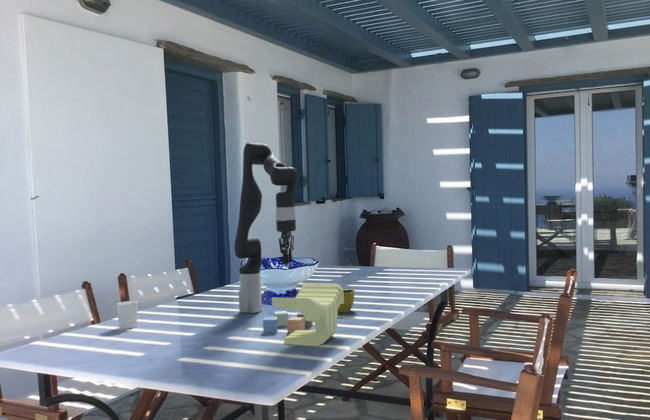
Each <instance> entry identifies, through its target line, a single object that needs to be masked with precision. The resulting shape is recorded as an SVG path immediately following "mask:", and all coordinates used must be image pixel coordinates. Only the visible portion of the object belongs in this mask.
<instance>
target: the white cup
mask: <svg viewBox="0 0 650 420" xmlns="http://www.w3.org/2000/svg"><path fill="white" fill-rule="evenodd" d="M116 308H117V309H116V311H117V319H118V323H119V325H118V327H119V329H120V330H121V329H122V330H129V329H134V328H136V327H138V325H137V324H138V323H137V322H138V301H137V300H129V301H128V300H126V301H120V302H118V303H116Z"/></svg>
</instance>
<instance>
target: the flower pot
mask: <svg viewBox="0 0 650 420" xmlns="http://www.w3.org/2000/svg"><path fill="white" fill-rule="evenodd" d="M342 289H343V293H344V304H343V303H342V304H340V306H339V308H338V309H337V312H338V314H339V313H341V314H342V313H344V314H346V313H350V312H351V310H352V309H353V305H354V302H355V289H344V288H342Z"/></svg>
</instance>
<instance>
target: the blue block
mask: <svg viewBox="0 0 650 420" xmlns="http://www.w3.org/2000/svg"><path fill="white" fill-rule="evenodd" d="M262 326H263V327H262V331H263V334H273V333H274V334H276V333H278V331H279V326H278V317H274V316H264V317H263V319H262Z"/></svg>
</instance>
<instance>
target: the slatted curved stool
mask: <svg viewBox="0 0 650 420" xmlns="http://www.w3.org/2000/svg"><path fill="white" fill-rule="evenodd" d="M343 289H344V288H342V286H340V284H338V283H335V282H333V283H332V282H331V283H330V282H328V283H327V282H325V283H324V282H320V283H319V282H303V283H302V284H301V287H300V289H299V291H298V293H297V294H296V296H295V297H271V304H272V305H271V306H272V307H277V308H279V309H282V310H293V311H298V312H301V313H302V314H303V315H304V318H305V321H313V324H314V325H315V329H310V330H309V329H308V330H307V329H305V330H296V331H294V332H293V333H288V335H286V336H285V337H284V340H283V344H285V345H299V344H300V345H301V346H302V345H303V346H304V345H305V346H321V345H323V344H325V342H326V341H328V340H329V339H330V338H332V337H333V336H334V335H335V334H336V333H337V330H338V314H339V313H338V312H337V309H338V308H339V306H340V304H342V303H343V304H344V293H343Z"/></svg>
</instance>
